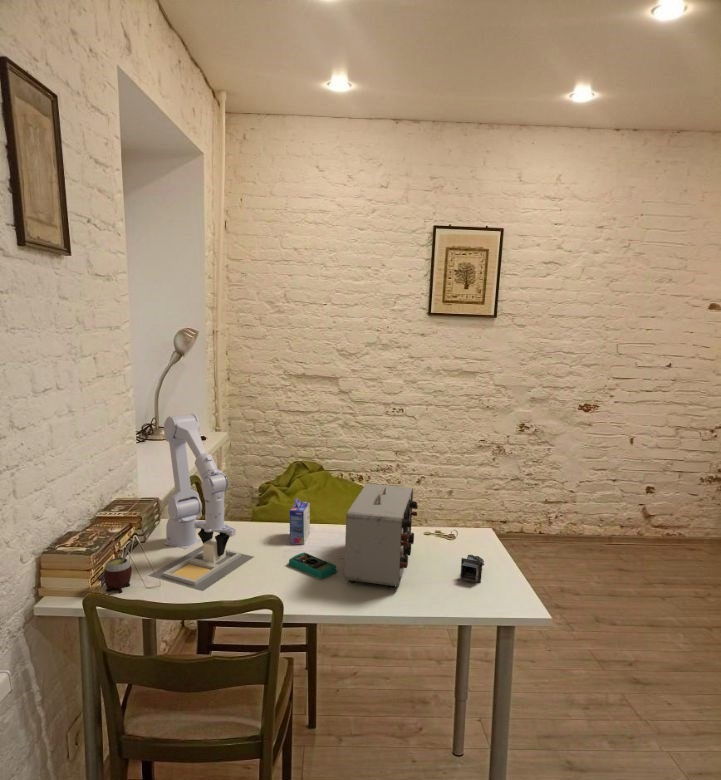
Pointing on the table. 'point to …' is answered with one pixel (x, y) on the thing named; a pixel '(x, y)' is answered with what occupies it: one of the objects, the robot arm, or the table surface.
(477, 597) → the table surface
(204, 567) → the grey flat tray
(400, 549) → the vintage electronic device
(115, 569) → the mate gourd
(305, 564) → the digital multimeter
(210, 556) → the plug
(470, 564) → the ethernet keystone jack
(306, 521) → the ink cartridge box
